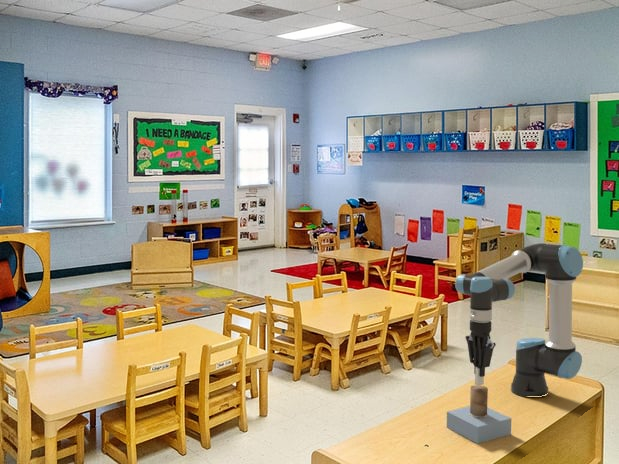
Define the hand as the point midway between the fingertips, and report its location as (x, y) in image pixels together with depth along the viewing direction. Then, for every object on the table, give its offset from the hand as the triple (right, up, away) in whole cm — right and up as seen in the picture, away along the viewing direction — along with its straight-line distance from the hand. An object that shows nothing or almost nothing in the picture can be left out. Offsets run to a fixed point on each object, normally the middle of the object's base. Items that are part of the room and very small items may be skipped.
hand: (479, 384), depth 223 cm
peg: (0, -16, +2) cm, 16 cm away
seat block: (0, -17, +2) cm, 17 cm away
